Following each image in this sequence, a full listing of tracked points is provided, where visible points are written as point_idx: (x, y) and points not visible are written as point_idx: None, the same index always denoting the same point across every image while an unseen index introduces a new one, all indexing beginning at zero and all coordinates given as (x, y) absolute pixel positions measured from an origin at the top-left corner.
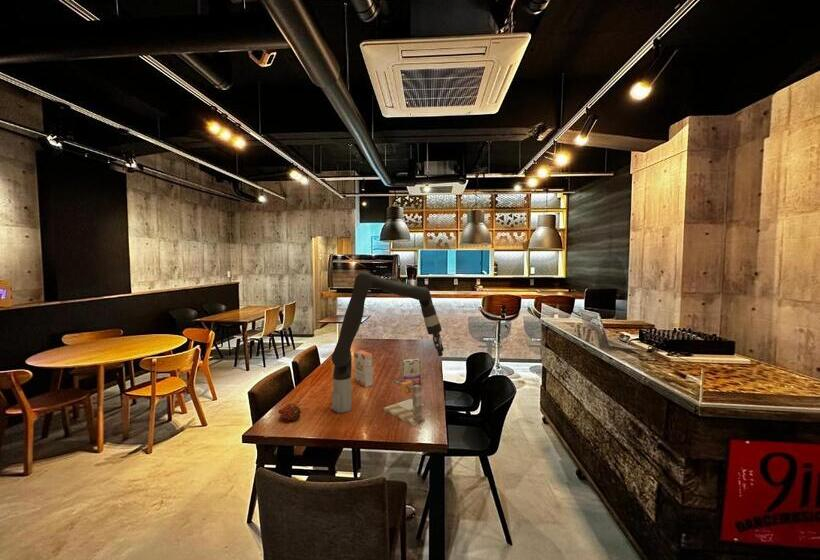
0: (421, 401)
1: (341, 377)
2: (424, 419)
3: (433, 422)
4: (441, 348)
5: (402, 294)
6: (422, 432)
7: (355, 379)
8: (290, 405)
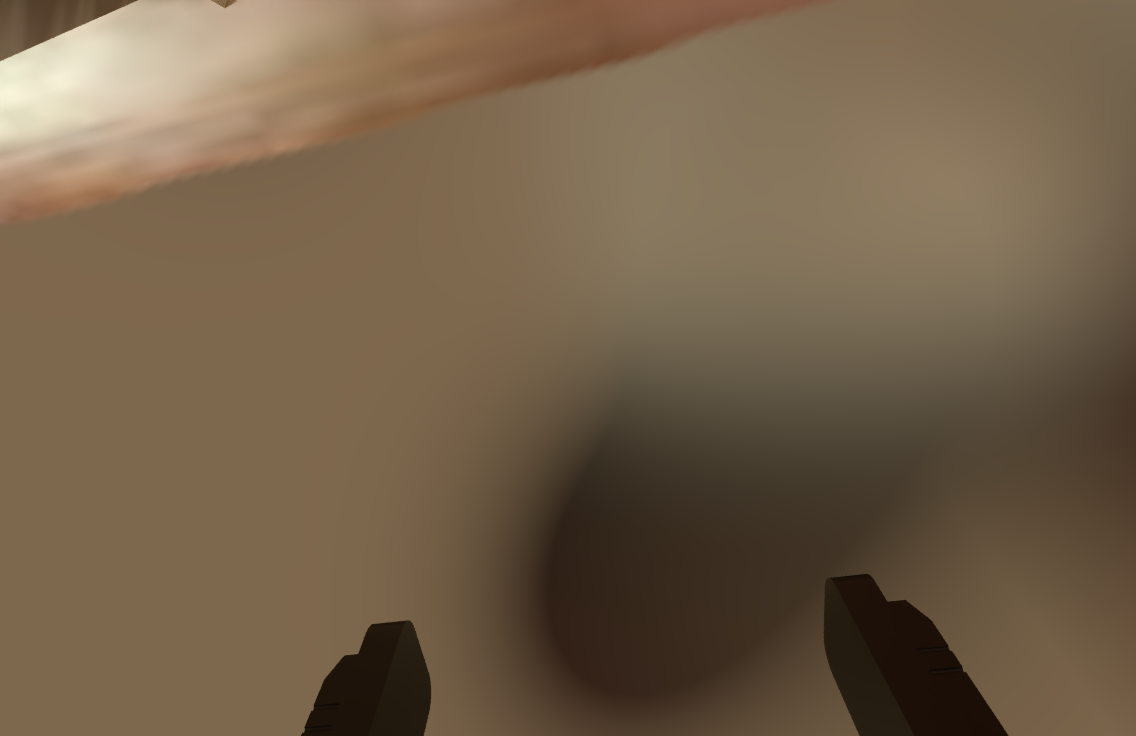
0: (73, 28)
1: None
2: (224, 4)
3: (267, 93)
4: (858, 689)
5: None
6: None
7: None
8: None
